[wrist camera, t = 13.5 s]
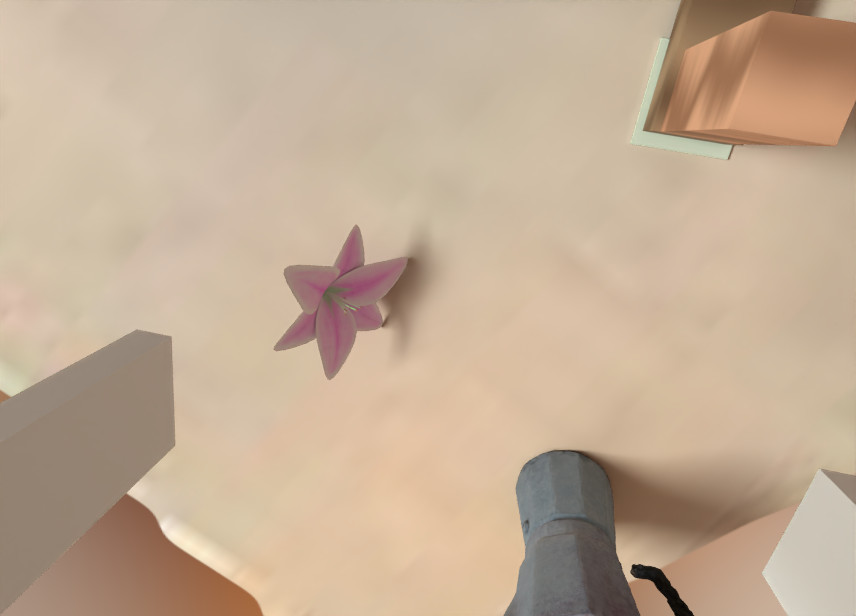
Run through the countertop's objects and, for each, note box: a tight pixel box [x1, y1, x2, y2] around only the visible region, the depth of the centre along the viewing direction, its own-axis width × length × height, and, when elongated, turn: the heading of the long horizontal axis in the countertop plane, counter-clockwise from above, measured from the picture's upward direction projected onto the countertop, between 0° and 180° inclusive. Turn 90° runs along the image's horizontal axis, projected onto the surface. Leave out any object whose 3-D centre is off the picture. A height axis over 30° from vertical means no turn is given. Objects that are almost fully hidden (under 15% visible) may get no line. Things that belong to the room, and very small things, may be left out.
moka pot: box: [504, 451, 694, 616], centre depth 37 cm, size 10×15×20 cm, turn 96°
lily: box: [274, 225, 408, 380], centre depth 39 cm, size 12×12×10 cm
